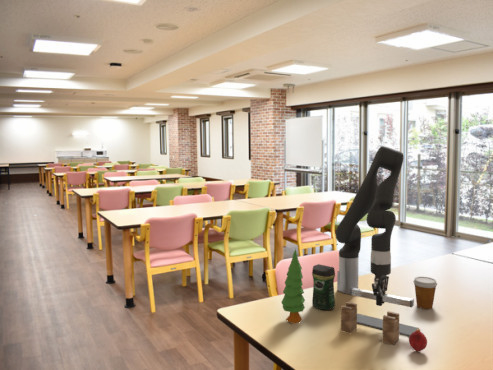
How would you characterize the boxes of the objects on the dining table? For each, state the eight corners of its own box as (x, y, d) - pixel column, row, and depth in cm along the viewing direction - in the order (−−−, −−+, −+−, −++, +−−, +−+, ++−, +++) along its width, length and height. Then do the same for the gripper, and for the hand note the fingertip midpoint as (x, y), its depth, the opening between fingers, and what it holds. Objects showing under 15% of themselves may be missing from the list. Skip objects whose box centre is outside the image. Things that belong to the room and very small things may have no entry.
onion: (425, 357, 136) (425, 334, 136) (407, 353, 139) (407, 330, 139) (428, 350, 141) (428, 327, 140) (410, 346, 144) (410, 324, 144)
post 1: (340, 330, 157) (340, 306, 156) (347, 325, 162) (347, 301, 161) (350, 333, 155) (350, 308, 154) (356, 327, 159) (357, 303, 159)
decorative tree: (301, 326, 161) (301, 251, 158) (278, 323, 164) (277, 250, 162) (306, 317, 170) (306, 246, 168) (284, 314, 173) (283, 244, 171)
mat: (341, 319, 167) (341, 318, 167) (349, 312, 174) (349, 311, 174) (413, 337, 151) (413, 335, 151) (419, 329, 157) (419, 328, 157)
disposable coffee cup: (439, 311, 174) (439, 283, 173) (415, 310, 176) (415, 282, 175) (433, 303, 183) (434, 276, 182) (410, 301, 185) (411, 275, 184)
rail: (349, 295, 167) (349, 288, 167) (352, 293, 169) (352, 287, 169) (411, 307, 153) (411, 300, 153) (413, 305, 155) (413, 298, 155)
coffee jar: (338, 307, 180) (338, 265, 179) (328, 312, 175) (328, 269, 173) (319, 301, 187) (319, 261, 185) (309, 306, 181) (309, 265, 180)
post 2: (382, 342, 147) (382, 316, 147) (387, 335, 152) (388, 310, 151) (393, 345, 145) (394, 318, 144) (399, 338, 150) (399, 313, 149)
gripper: (377, 255, 168) (376, 297, 169) (364, 263, 157) (364, 307, 158) (395, 258, 163) (395, 300, 165) (384, 266, 152) (384, 312, 154)
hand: (380, 304), depth 161 cm, fingers closed on rail, 2 cm apart
